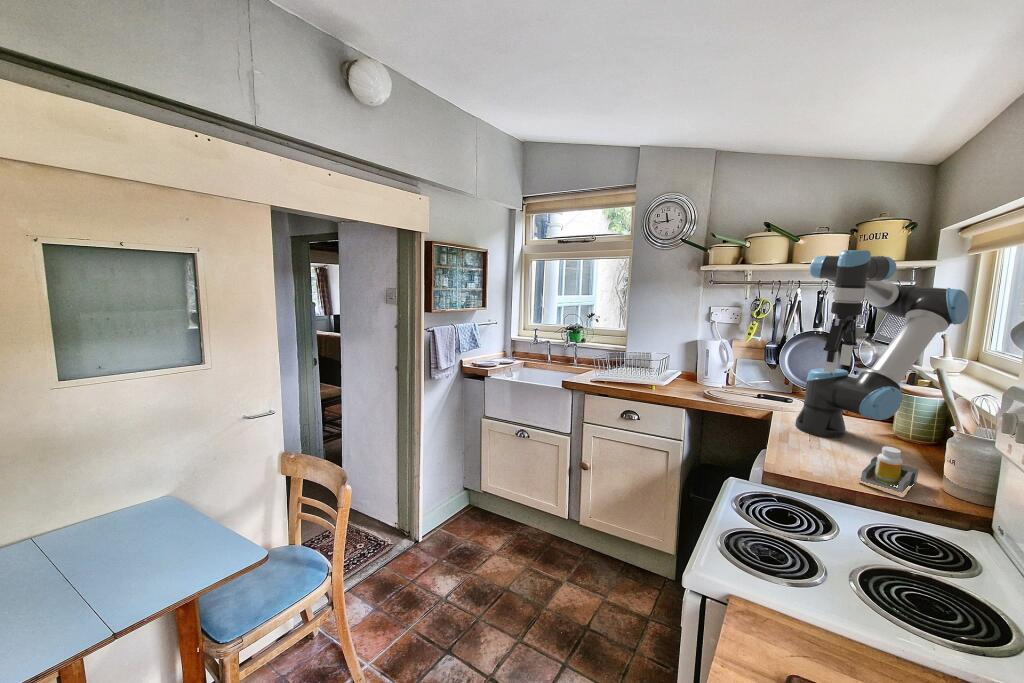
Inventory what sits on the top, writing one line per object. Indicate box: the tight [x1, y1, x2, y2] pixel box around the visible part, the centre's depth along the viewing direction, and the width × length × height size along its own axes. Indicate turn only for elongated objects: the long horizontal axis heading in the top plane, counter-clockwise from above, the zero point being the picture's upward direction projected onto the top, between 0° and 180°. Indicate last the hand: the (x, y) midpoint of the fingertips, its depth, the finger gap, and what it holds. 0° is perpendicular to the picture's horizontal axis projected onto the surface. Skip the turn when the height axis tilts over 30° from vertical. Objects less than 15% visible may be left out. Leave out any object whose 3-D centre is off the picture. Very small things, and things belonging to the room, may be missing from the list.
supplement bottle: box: [874, 446, 903, 486], centre depth 123 cm, size 5×5×10 cm
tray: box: [859, 456, 920, 493], centre depth 124 cm, size 14×10×5 cm
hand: (837, 368), depth 138 cm, fingers open, 13 cm apart
